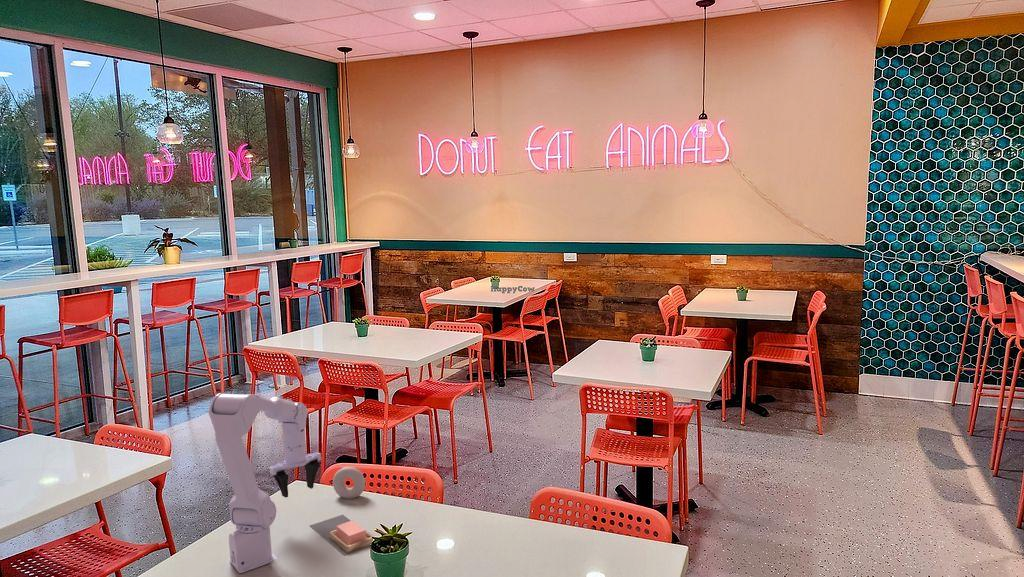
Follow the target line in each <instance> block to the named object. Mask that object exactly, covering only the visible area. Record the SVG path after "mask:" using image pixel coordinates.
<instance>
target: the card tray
mask: <svg viewBox="0 0 1024 577" xmlns="http://www.w3.org/2000/svg"><path fill="white" fill-rule="evenodd" d="M372 537H374V538H375V536H374V535H372V534H371V533H370V532H369V531H367V530H366V539H365V540H362V541H359V542H356V543H354V544H351V545H347V544H345V543H344V542H343V541H342V540H341V539H339V538H338V537H337V530H334V531H331V532H329V538H330V539H331V540H332V541H333V542H334V543H336V544H337V545H338V546H339V547H340V548H341V549H343V550H344V551H345V552H346V553H349V552H352V551H354V550H357V549H360V548H363V547H365V546H368V545H370V544H371V543H372V541H373V539H372ZM375 539H376V538H375Z"/></svg>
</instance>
